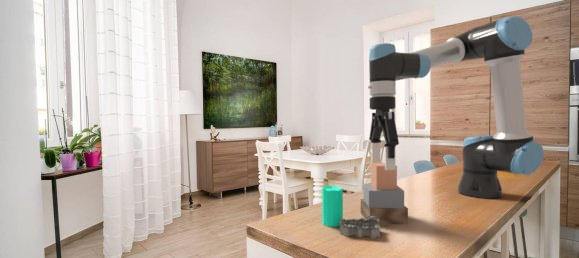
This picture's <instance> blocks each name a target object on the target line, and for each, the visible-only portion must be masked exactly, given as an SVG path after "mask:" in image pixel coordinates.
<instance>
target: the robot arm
mask: <svg viewBox="0 0 579 258" xmlns="http://www.w3.org/2000/svg"><path fill="white" fill-rule="evenodd" d="M532 41H533V31H532V28H531V26H530V24H529V23H528V22H527V21H526V20H525V19H524V18H523V17H521V16H517V15H512V16H511V15H510V16H507V17H503V18H499V19H497V20H494V21H491V22H488V23H486V24H483V25H480V26H476V27H473V28H472V29H469V30H466V31H465V32H463V33H461V34H458V35H455V36H453V37H450V38H448V39H447V40H446V41H445V42H442V43H439V44H436V45H433V46H429V47H426V48H423V49H420V50H416V51H412V52H398V51H397V50H396V46H395V44H393V43H388V42H387V43H384V42H383V43H376V44H374V45H372V46H371V47H370V49H369V54H368V55H369V56H368V57H369V58H368V59H369V60H368V63H369V71H368V72H369V85H368V86H367V89H368V90H369V96H371V97H369V109H370V110H373V111H374V110H375V112H371V113H372V114H371V123H370V130H369V138H368V140H369V141H370V143H371V146H370V147H371V163H381V143H382V140H381V135H383V139H384V141H385V143H384V145H383V147H384V163H385V170H395V165H396V147H397V146H398V145H399V144H400V142H399V136H398V131H397V126H396V118H395V111H391V110H395V109H396V97H395V95H396V92H397V91H396V88H397V86H396V83H397V82H396V81H401V80H406V79H423V78H426V77H427V76H428V74H430V73H429V72H430V71H431V69H433V68H435V67H439V66H442V65H446V64H447V63H453V64H457V63H461V62H463V61H470V60H479V59H483V60H484V61H483V62H484V63H485V64H487V66H489V70H490V71H489V72H490V77H491V78H490V79H491V87H492V99H493V107H494V116H495V117H494V118H495V125H496V133H495V134H494V135H481V136H480V135H479V136H469V137H465V138H464V139H463V145H462V176H461V179H460V180H459V183H458V186H457V193H459V194H460V195H464V196H467V197H473V198H481V199H499V198H502V197H503V188H502V186H501V183H500V180H499V177H498V172H504V173H509V174H510V173H511V174H513V175H523V176H524V175H525V176H526V175H529V176H530V175H532V174H534V173H535V172H537V171H538V170H539V168H540V166H542V163H543V162H544V161H543V160H544V156H545V155H544V154H545V153H544V152H545V151H544V147H543V146H542V145H541V143H539V142H538V141H534V134H533V133H531V132H530V131H528V129H527V121H526V120H527V119H526V109H525V101H524V90H523V89H524V88H523V79H522V68H521V60H522V59H523V58H524V57H525V55H526V53H525V52H526V51H525V50H526V49H528V48H529V47H530V45H532V43H531V42H532Z"/></svg>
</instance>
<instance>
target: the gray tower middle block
mask: <svg viewBox="0 0 579 258" xmlns="http://www.w3.org/2000/svg"><path fill="white" fill-rule="evenodd" d="M362 184H363V185H362V186H363V187H362V188H363V193H362V195H363V198H362V199H364V201H365V202H366V204H367V205H368V207H369V208H404V206H405V190H404V189H403V188H401V187H400V186H399V185H397V190H376V189H375V188H374V187H372V186H371V183H362Z"/></svg>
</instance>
